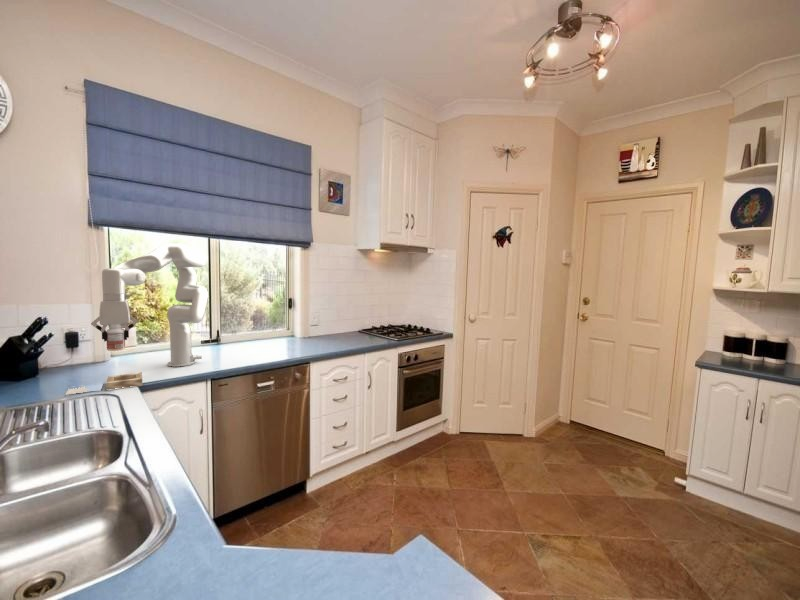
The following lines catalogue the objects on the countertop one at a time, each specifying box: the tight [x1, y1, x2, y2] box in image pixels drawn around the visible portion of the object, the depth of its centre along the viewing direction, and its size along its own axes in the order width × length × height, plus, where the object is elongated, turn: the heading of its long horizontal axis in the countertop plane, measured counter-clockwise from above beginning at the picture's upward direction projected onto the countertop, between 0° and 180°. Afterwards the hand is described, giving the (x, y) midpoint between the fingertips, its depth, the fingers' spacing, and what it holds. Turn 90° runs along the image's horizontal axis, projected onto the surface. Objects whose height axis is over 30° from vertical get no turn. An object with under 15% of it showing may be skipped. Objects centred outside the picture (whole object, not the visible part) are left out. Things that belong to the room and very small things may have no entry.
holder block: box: [105, 372, 143, 390], centre depth 156 cm, size 12×12×3 cm
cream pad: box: [64, 386, 89, 396], centre depth 149 cm, size 11×11×1 cm
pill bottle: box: [106, 324, 126, 352], centre depth 153 cm, size 6×6×11 cm
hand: (115, 339), depth 153 cm, fingers closed on pill bottle, 6 cm apart
